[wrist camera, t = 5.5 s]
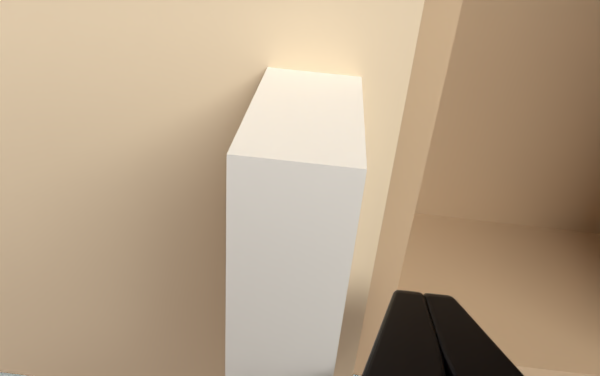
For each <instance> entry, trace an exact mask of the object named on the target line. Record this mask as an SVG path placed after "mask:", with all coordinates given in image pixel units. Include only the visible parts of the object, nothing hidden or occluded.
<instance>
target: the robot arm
mask: <svg viewBox="0 0 600 376" xmlns="http://www.w3.org/2000/svg"><path fill="white" fill-rule="evenodd" d="M362 376H524V375H523V374H522V373H521V372H520V370H519V369H518V368H517V367H516V366H515V365H514V364H513V363H512V362H511V360H510V359H509V358H508V357H507V356H506V355H505V354H504V353H503V352H502V350H501V349H500V348H499V347H498V346H497V345H496V344H495V343H494V342H493V340H492V339H491V338H490V337H489V336H488V335H487V334H486V333H485V332H484V330H483V329H482V328H481V327H480V326H479V325H478V324H477V323H476V322H475V320H474V319H473V318H472V317H471V316H470V315H469V314H468V313H467V312H466V310H465V309H464V308H463V307H462V306H461V305H460V304H459V303H458V302H457V300H456V299H454V298H453V297H452V296H449V295H441V294H433V293H425V294H422V293H420V292H415V291H406V290H395V291H394V292H393V295H392V297H391V300H390V302H389V305H388V308H387V310H386V313H385V315H384V318H383V321H382V323H381V326H380V329H379V331H378V334H377V337H376V339H375V342H374V344H373V347H372V350H371V352H370V355H369V358H368V360H367V363H366V365H365V368H364V371H363V373H362Z"/></svg>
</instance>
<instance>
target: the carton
mask: <svg viewBox="0 0 600 376" xmlns="http://www.w3.org/2000/svg"><path fill="white" fill-rule="evenodd" d="M395 290H406V291H415V292H420V293H422V294H425V293H433V294H441V295H449V296H452V297H453V298H454V299H456V300H457V302H458V303H459V304H460V305H461V306H462V307H463V308H464V309H465V310H466V312H467V313H468V314H469V315H470V316H471V317H472V318H473V319H474V320H475V322H476V323H477V324H478V325H479V326H480V327H481V328H482V329H483V330H484V332H485V333H486V334H487V335H488V336H489V337H490V338H491V339H492V340H493V342H494V343H495V344H496V345H497V346H498V347H499V348H500V349H501V350H502V352H503V353H504V354H505V355H506V356H507V357H508V358H509V359H510V360H511V362H512V363H513V364H514V365H515V366H516V367H517V368H518V369H519V370H520V372H521V373H522V374H523V375H524V376H600V0H425V1H424V7H423V12H422V17H421V22H420V28H419V33H418V38H417V43H416V48H415V54H414V59H413V64H412V69H411V75H410V80H409V85H408V90H407V95H406V101H405V106H404V111H403V116H402V122H401V127H400V132H399V137H398V142H397V148H396V153H395V158H394V163H393V168H392V174H391V179H390V184H389V189H388V195H387V200H386V205H385V210H384V215H383V221H382V226H381V231H380V236H379V242H378V247H377V252H376V257H375V262H374V268H373V273H372V278H371V283H370V288H369V294H368V299H367V304H366V309H365V315H364V320H363V325H362V330H361V335H360V341H359V346H358V351H357V356H356V362H355V367H354V372H353V374H354V375H362V373H363V371H364V368H365V365H366V363H367V360H368V358H369V355H370V352H371V350H372V347H373V344H374V342H375V339H376V337H377V334H378V331H379V329H380V326H381V323H382V321H383V318H384V315H385V313H386V310H387V308H388V305H389V302H390V300H391V297H392V295H393V292H394V291H395Z"/></svg>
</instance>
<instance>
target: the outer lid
mask: <svg viewBox="0 0 600 376" xmlns="http://www.w3.org/2000/svg"><path fill="white" fill-rule="evenodd" d="M424 1H425V0H0V372H4V373H12V374H20V375H28V376H353V372H354V367H355V362H356V356H357V351H358V346H359V341H360V335H361V330H362V325H363V320H364V315H365V309H366V304H367V299H368V294H369V288H370V283H371V278H372V273H373V268H374V262H375V257H376V252H377V247H378V242H379V236H380V231H381V226H382V221H383V215H384V210H385V205H386V200H387V195H388V189H389V184H390V179H391V174H392V168H393V163H394V158H395V153H396V148H397V142H398V137H399V132H400V127H401V122H402V116H403V111H404V106H405V101H406V95H407V90H408V85H409V80H410V75H411V69H412V64H413V59H414V54H415V48H416V43H417V38H418V33H419V28H420V22H421V17H422V12H423V7H424Z"/></svg>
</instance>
